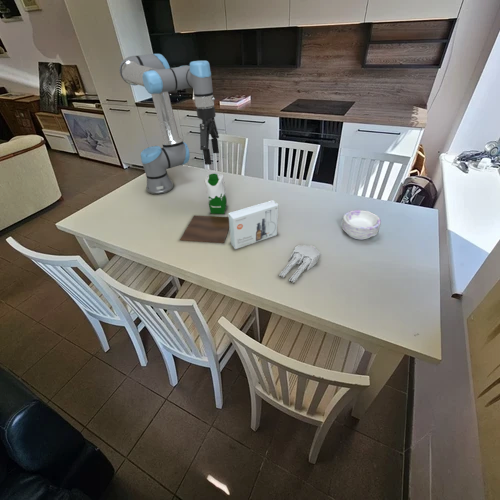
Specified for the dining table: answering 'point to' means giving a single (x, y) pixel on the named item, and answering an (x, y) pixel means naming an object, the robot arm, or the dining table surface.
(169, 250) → the dining table surface
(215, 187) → the soya milk
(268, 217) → the skincare box
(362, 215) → the paper bowls
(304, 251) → the turret
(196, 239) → the walnut board
